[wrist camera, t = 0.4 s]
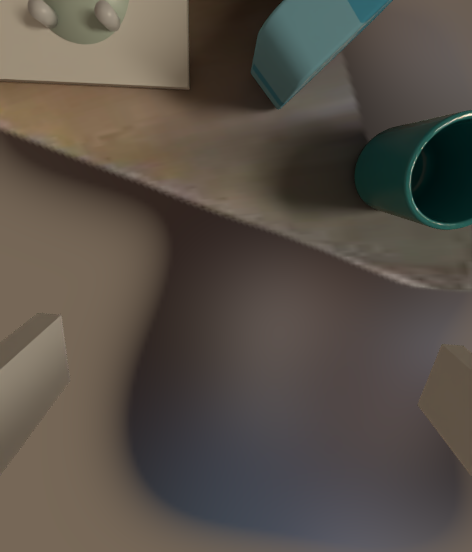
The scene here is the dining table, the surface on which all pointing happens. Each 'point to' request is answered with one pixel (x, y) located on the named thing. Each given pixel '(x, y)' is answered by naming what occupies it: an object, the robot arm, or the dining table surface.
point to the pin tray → (96, 42)
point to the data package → (306, 41)
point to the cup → (421, 171)
